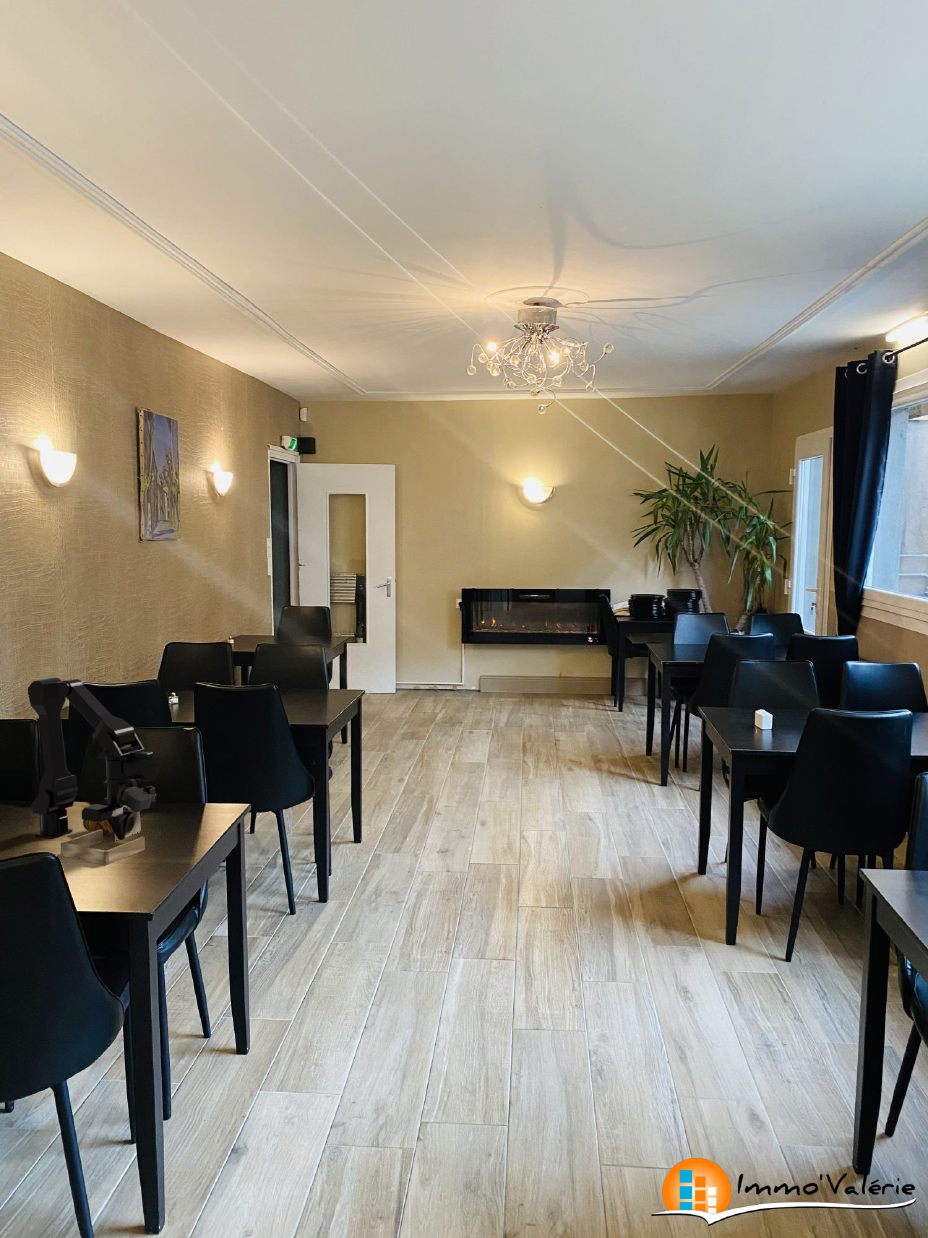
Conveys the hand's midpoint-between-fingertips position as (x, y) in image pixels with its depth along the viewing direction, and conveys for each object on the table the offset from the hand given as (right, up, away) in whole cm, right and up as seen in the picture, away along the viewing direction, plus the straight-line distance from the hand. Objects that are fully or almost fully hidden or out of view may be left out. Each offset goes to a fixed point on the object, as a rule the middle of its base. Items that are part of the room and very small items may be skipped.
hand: (121, 839), depth 218 cm
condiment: (-1, +3, +7) cm, 7 cm away
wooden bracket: (-2, -2, -5) cm, 6 cm away
